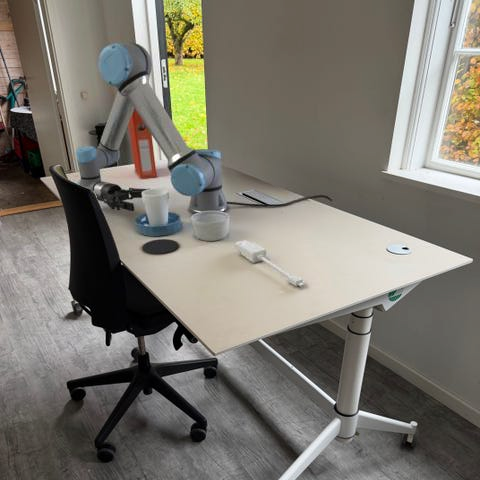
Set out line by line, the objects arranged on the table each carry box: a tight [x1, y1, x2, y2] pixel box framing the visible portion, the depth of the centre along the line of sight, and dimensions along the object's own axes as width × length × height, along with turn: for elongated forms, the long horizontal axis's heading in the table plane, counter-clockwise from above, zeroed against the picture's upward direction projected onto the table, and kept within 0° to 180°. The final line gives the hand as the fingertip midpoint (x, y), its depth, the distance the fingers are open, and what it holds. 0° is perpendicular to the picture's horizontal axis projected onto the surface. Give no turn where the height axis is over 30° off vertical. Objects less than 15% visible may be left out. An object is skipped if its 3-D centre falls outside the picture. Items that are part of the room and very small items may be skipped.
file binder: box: [128, 108, 158, 180], centre depth 229 cm, size 8×17×32 cm, turn 20°
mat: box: [141, 238, 179, 255], centre depth 156 cm, size 12×12×1 cm
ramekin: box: [190, 211, 231, 242], centre depth 162 cm, size 13×13×7 cm
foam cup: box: [141, 187, 170, 226], centre depth 168 cm, size 10×9×13 cm
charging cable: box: [234, 239, 306, 287], centre depth 141 cm, size 5×32×3 cm, turn 32°
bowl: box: [134, 211, 182, 237], centre depth 170 cm, size 16×16×4 cm
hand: (147, 202), depth 169 cm, fingers open, 13 cm apart
